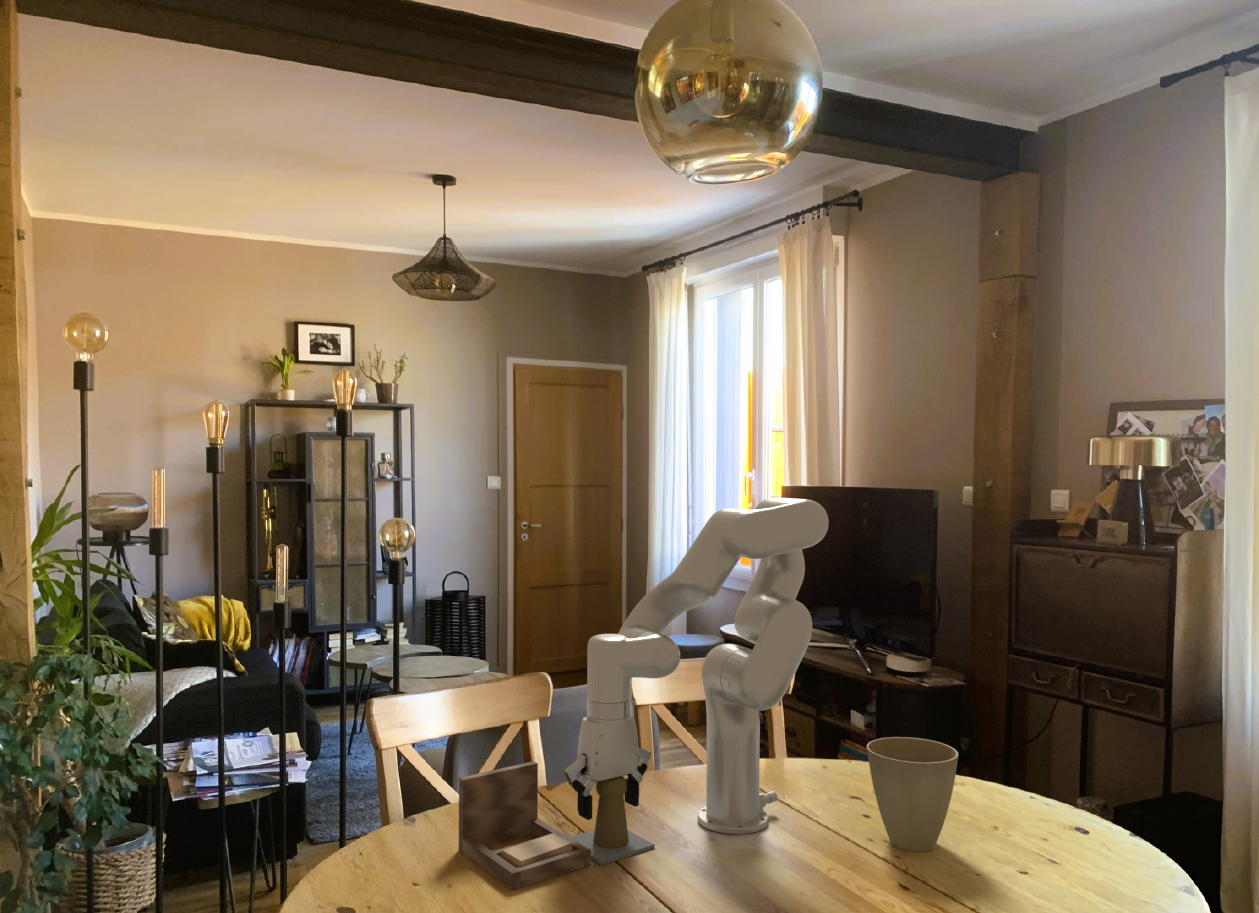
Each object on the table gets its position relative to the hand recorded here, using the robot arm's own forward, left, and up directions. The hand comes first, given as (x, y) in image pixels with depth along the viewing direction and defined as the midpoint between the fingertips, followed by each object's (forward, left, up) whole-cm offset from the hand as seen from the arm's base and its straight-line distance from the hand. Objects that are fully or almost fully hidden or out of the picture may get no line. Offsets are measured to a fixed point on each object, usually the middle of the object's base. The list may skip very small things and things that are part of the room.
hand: (608, 810), depth 153 cm
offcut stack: (+14, 0, -6) cm, 15 cm away
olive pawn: (-1, 0, -5) cm, 5 cm away
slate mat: (0, 0, -6) cm, 6 cm away
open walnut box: (+14, -4, -6) cm, 16 cm away
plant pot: (-42, +30, -6) cm, 52 cm away
